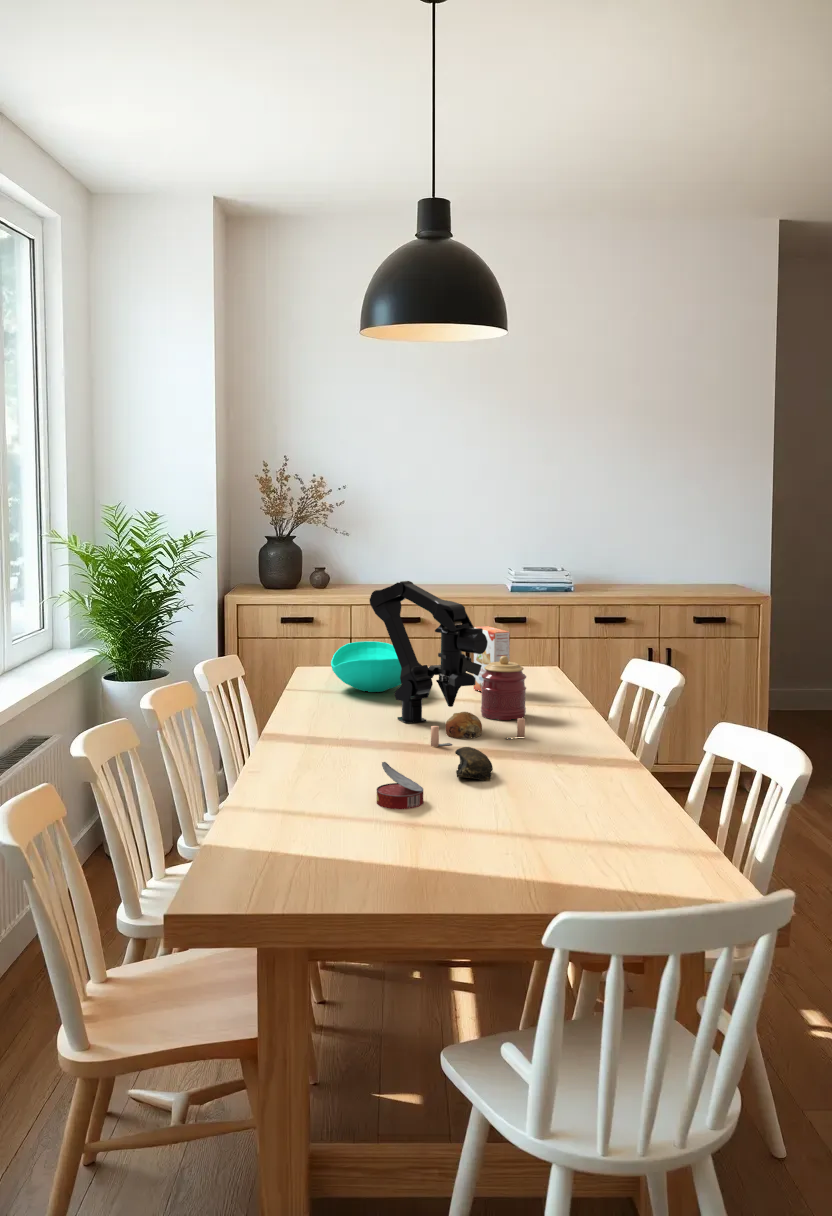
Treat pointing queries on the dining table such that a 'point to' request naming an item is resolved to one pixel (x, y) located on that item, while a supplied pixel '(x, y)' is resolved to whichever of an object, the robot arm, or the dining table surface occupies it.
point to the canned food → (399, 791)
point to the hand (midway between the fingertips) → (450, 706)
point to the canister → (503, 690)
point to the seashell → (473, 764)
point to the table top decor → (367, 666)
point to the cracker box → (492, 650)
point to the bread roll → (463, 725)
